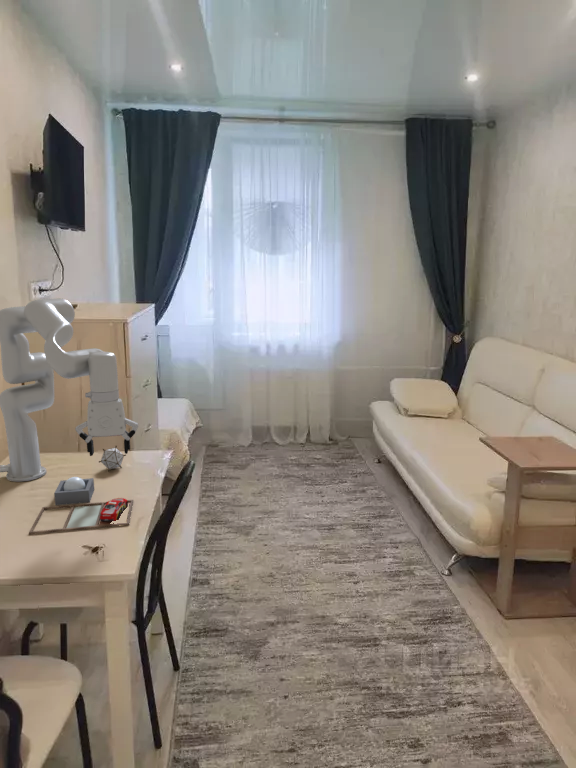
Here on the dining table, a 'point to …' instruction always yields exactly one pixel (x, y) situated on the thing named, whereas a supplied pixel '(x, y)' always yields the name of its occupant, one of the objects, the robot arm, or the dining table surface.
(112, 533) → the dining table surface
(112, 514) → the race car
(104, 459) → the game die
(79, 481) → the dome
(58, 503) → the base
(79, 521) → the brown divided frame
